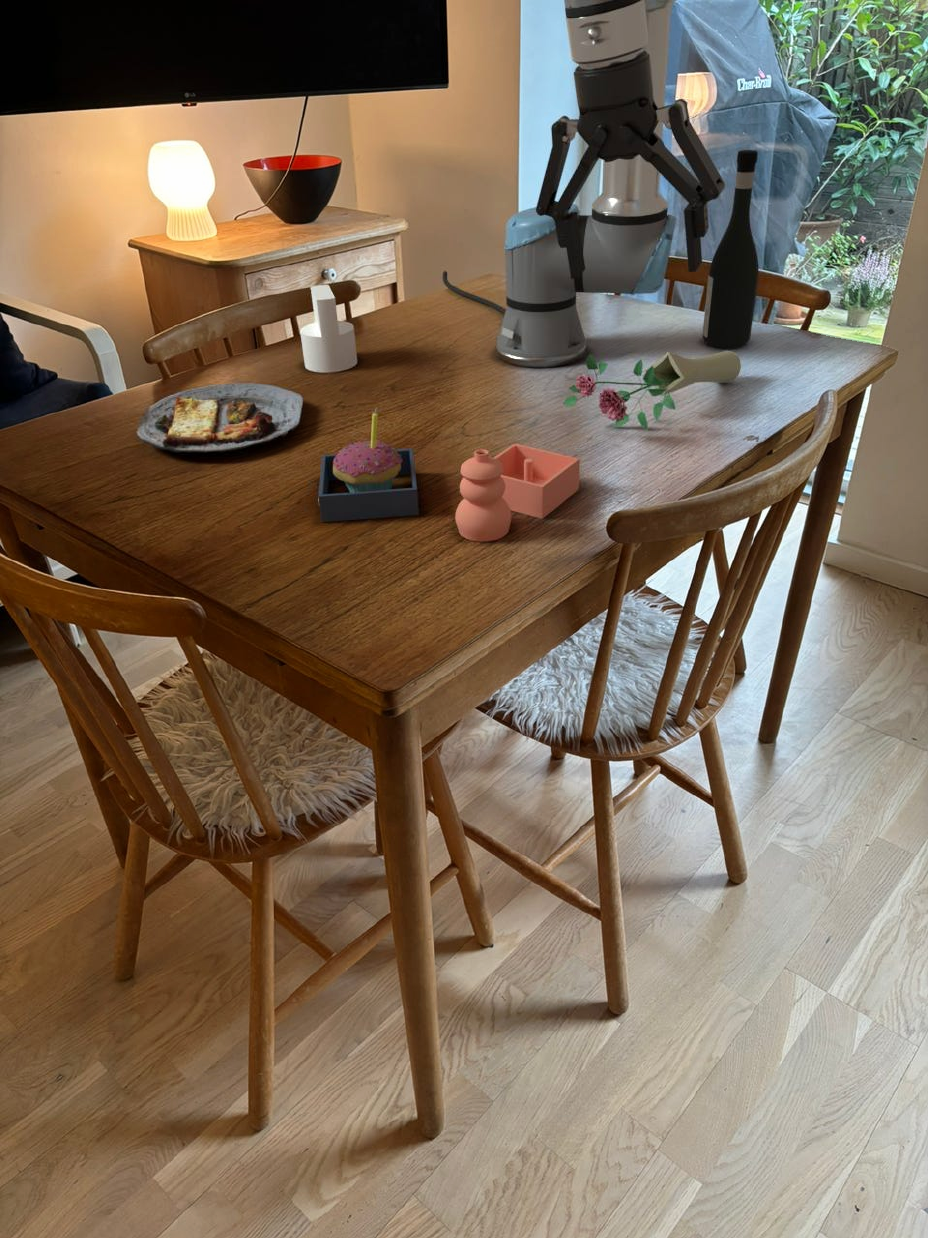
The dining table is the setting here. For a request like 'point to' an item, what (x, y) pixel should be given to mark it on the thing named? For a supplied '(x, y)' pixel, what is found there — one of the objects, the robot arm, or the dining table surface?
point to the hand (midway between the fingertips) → (635, 270)
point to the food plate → (220, 417)
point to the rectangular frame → (367, 496)
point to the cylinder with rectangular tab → (327, 336)
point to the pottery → (512, 488)
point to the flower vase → (657, 382)
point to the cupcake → (367, 463)
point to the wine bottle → (734, 269)
